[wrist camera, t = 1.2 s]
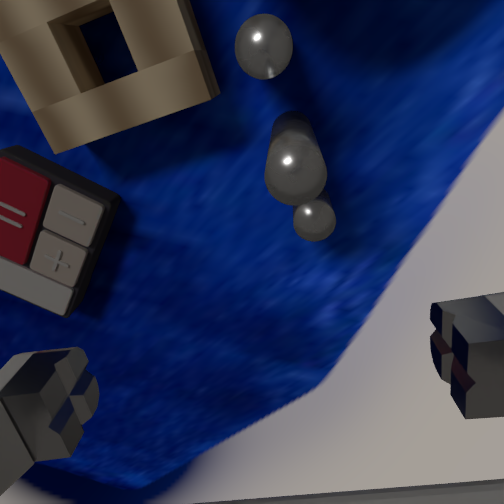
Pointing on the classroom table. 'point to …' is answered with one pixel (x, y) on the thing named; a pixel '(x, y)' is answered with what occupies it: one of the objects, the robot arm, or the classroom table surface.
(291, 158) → the long pin
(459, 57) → the classroom table surface
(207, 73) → the block
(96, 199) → the calculator
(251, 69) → the medium pin
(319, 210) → the short pin
